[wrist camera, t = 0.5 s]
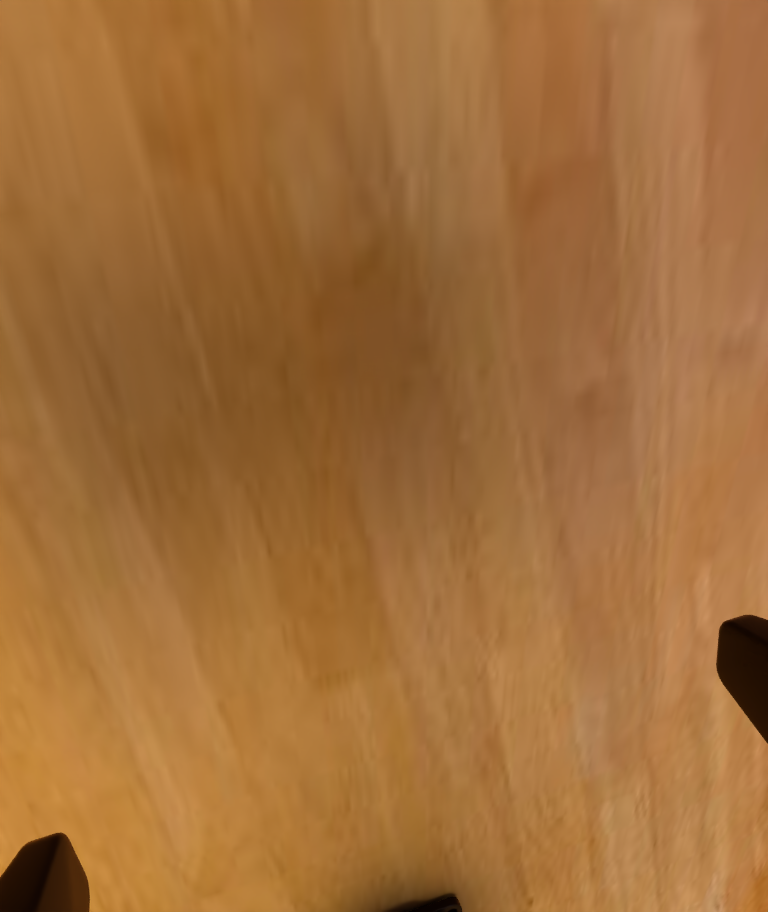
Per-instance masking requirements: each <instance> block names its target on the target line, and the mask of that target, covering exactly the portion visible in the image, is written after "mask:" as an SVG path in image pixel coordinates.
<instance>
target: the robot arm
mask: <svg viewBox="0 0 768 912" xmlns="http://www.w3.org/2000/svg"><path fill="white" fill-rule="evenodd" d="M716 667H717V672H718V675H719V678H720V679H721V681H722V683H723V685H724V686H725V687H726V689H727V690H728V691H729V693H730V694H731V695H732V697H733V698H734V699H735V701H736V702H737V703H738V705H739V706H740V707H741V709H742V710H743V711H744V713H745V714H746V715H747V717H748V718H749V719H750V721H751V722H752V723H753V725H754V726H755V727H756V729H757V730H758V731H759V733H760V734H761V735H762V737H763V738H764V739H765V741H766V742H767V743H768V620H766V619H763V618H760V617H757V616H753V615H743V616H740V617H736V618H733V619H730V620H727V621H725V622H723V623H722V625H721V626H720V629H719V638H718V650H717V662H716ZM89 903H90V894H89V884H88V880H87V876H86V874H85V872H84V870H83V867H82V865H81V863H80V861H79V859H78V857H77V855H76V853H75V851H74V849H73V846H72V844H71V842H70V840H69V839H68V837H67V836H66V835H65V834H64V833H55V834H52V835H49V836H45V837H42V838H39V839H36V840H33V841H30V842H28V843H27V844H25V845H24V846H23V847H22V848H21V849H20V851H19V852H18V853H17V855H16V856H15V858H14V859H13V860H12V862H11V863H10V865H9V866H8V867H7V869H6V870H5V872H4V873H3V874H2V876H1V877H0V912H89ZM409 912H462V908H461V906H460V903H459V900H458V899H457V898H456V897H450V898H446V899H443V900H440V901H438V902H435V903H432V904H429V905H426V906H423V907H420V908H417V909H414V910H412V911H409Z"/></svg>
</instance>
